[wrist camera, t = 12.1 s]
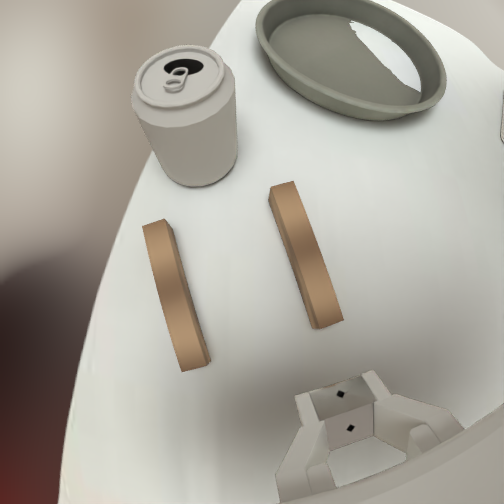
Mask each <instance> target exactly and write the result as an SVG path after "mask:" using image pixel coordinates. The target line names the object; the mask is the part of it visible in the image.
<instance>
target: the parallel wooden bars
mask: <svg viewBox="0 0 504 504" xmlns="http://www.w3.org/2000/svg"><path fill="white" fill-rule="evenodd" d="M268 201H269V204H270V207H271V209H272V212H273V215H274V218H275V220H276V223H277V226H278V229H279V232H280V235H281V237H282V240H283V243H284V246H285V249H286V252H287V255H288V257H289V260H290V263H291V266H292V269H293V272H294V275H295V278H296V281H297V284H298V287H299V290H300V293H301V296H302V299H303V302H304V305H305V308H306V311H307V314H308V317H309V320H310V323H311V326H312V328H313V329H322V328H325V327H327V326H330V325H333V324H335V323H338V322H340V321H343V320H344V319H343V316H342V313H341V310H340V307H339V304H338V301H337V298H336V295H335V292H334V289H333V286H332V283H331V280H330V277H329V274H328V271H327V268H326V266H325V263H324V260H323V257H322V254H321V252H320V249H319V246H318V243H317V241H316V238H315V235H314V233H313V230H312V227H311V225H310V222H309V219H308V217H307V214H306V212H305V209H304V206H303V204H302V201H301V199H300V196H299V194H298V191H297V189H296V186H295V184H294V181H291V182H287V183H283V184H280V185H276V186H272V187H271V188H270V194H269V199H268ZM142 228H143V232H144V237H145V241H146V246H147V250H148V255H149V259H150V263H151V267H152V271H153V275H154V279H155V283H156V287H157V291H158V294H159V298H160V302H161V306H162V309H163V313H164V316H165V320H166V323H167V327H168V330H169V333H170V337H171V340H172V343H173V346H174V350H175V353H176V356H177V359H178V362H179V365H180V368H181V371H182V372H185V371H188V370H192V369H196V368H200V367H203V366H207V365H208V364H209V362H210V361H211V360H210V357H209V353H208V350H207V347H206V344H205V341H204V338H203V335H202V331H201V328H200V325H199V322H198V318H197V315H196V312H195V308H194V305H193V302H192V298H191V295H190V291H189V288H188V284H187V281H186V277H185V274H184V270H183V266H182V263H181V259H180V255H179V251H178V248H177V244H176V240H175V236H174V232H173V229H172V228H171V226H170V225H169V224H168V222H167V221H166V220H165V219H162V220H159V221H156V222H153V223H150V224H147V225H144V226H142Z"/></svg>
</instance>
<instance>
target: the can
mask: <svg viewBox="0 0 504 504" xmlns="http://www.w3.org/2000/svg"><path fill="white" fill-rule="evenodd" d="M131 101H132V107H133V110H134V112H135V114H136V116H137V118H138V120H139V122H140V124H141V126H142V128H143V130H144V133H145V135H146V137H147V139H148V140H149V142H150V145H151V147H152V149H153V151H154V153H155V155H156V157H157V159H158V161H159V162H160V164H161V166H162V168H163V170H164V171H165V173H166V174H167V176H168V177H169V178H171V179H172V180H174V181H175V182H177V183H179V184H182V185H186V186H204V185H207V184H211V183H214V182H216V181H217V180H219V179H220V178H222V177H224V176H225V175H226V174H227V173H228V172H229V170H230V169H231V168H232V167H233V165H234V163H235V160H236V158H237V123H236V99H235V78H234V76H233V73H232V71H231V69H230V68H229V67H228V66H227V65H226V64H225V63H224V62H223V60H222V58H221V57H220V56H219V55H218V54H217V53H216V52H215V51H213V50H211V49H208V48H206V47H203V46H195V45H184V46H183V45H182V46H176V47H172V48H169V49H165V50H163V51H161V52H159V53H157V54H155V55H154V56H152V57H151V58H150V59H148V60H147V61H146V62H145V63H144V64H143V65H142V66H141V68H140V69H139V70H138V72H137V74H136V77H135V80H134V88H133V92H132V95H131Z"/></svg>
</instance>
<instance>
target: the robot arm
mask: <svg viewBox="0 0 504 504" xmlns="http://www.w3.org/2000/svg"><path fill="white" fill-rule="evenodd" d="M501 138H502V140H503V142H504V101H503V117H502V128H501ZM294 397H295V401H296V405H297V409H298V413H299V417H300V421H301V425H302V427H300V428H299V430H298V432H297V434H296V436H295V438H294V440H293V442H292V444H291V446H290V448H289V450H288V452H287V454H286V456H285V458H284V460H283V461H282V463H281V465H280V467H279V469H278V471H277V473H276V474H275V476H276V482H277V487H278V493H279V498H280V503H278V504H504V403H503V404H502V405H501V406H499V407H498V408H496V409H495V410H494V411H492V412H491V413H489V414H488V415H486V416H485V417H483V418H482V419H480V420H479V421H477V422H476V423H474V424H473V425H471V426H470V427H468V428H466V429H464V428H463V427H462V426H461V424H460V423H459V422H458V421H457V420H456V419H455V417H454V416H453V415H452V414H451V413H450V411H449V410H447V409H444V408H440V407H437V406H433V405H430V404H427V403H423V402H420V401H417V400H414V399H410V398H407V397H404V396H401V395H398V394H393V395H391V393H390V392H389V390H388V389H387V388H386V386H385V385H384V384H383V382H382V381H381V379H380V378H379V377H378V375H377V374H376V373H375V371H374V370H370V371H368V372H365V373H363V374H360V375H358V376H355V377H352V378H350V379H347V380H344V381H341V382H338V383H335V384H333V385H329V386H326V387H323V388H319V389H316V390H312V391H309V392H306V393H302V394H298V395H295V396H294ZM371 436H375V437H376V438H378V439H380V440H382V441H384V442H386V443H387V444H389V445H391V446H393V447H395V448H397V449H399V450H401V451H403V452H404V453H406V460H405V462H403V463H401V464H398V465H396V466H394V467H392V468H389V469H387V470H385V471H382V472H380V473H377V474H375V475H372V476H370V477H367V478H364V479H362V480H359V481H356V482H353V483H350V484H347V485H345V486H341V487H338V488H336V485H335V482H334V480H333V477H332V474H331V472H330V469H329V466H328V465H326V463H327V460H328V457H329V454H330V451H332V450H334V449H337V448H340V447H343V446H346V445H348V444H351V443H354V442H357V441H360V440H362V439H365V438H368V437H371Z"/></svg>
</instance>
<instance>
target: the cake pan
mask: <svg viewBox="0 0 504 504" xmlns="http://www.w3.org/2000/svg"><path fill="white" fill-rule="evenodd" d="M351 20H352V21H355V22H359V23H362V24H364V25H366V26H369V27H371V28H373V29H375V30H376V31H378V32H380V33H382V34H383V35H385V36H386V37H388V38H389V39H391V40H392V42H394V43H396V44H397V45H398V46H399V47H400V48H401V49H402V50H403V51H404V52H405V53H406V54H407V55H408V57H409V58H410V59H411V61H412V62H413V64H414V66H415V67H416V69H417V71H418V74H419V77H420V81H421V93H420V92H419V91H417V90H415V89H413V88H411V87H409V86H407V85H405V84H403V83H402V82H401V81H400V80H399V79H397V77H396V76H395V75H394V74H393V73H392V72H391V70H389V69H388V68H387V67H385V66H384V65H383V64H382V63H381V62H380V61H379V59H378V58H377V57H376V56H375V55H374V54H373V53H372V52H371V51H370V50H369V49H368V47H367V46H366V45H365V44H364V43H363V42H362V41H361V40H360V39H359V38H358V37H357V36H356V34H355V33H356V31H354V30H352V28H351V26H350V24H349V23H354V22H350V21H351ZM256 34H257V37H258V40H259V42H260V44H261V46H262V47H263V49H264V50H265V52H266V53H267V54H268V56H269V60H270V62H271V64H272V66H273V68H274V70H275V71H276V73H277V74H278V75H279V76H280V78H281V79H282V80H283V81H284V82H285V83H286V84H287V85H288V86H290V87H291V88H292V89H293V90H295V91H296V92H297V93H299V94H300V95H302V96H303V97H305V98H306V99H308V100H310V101H312V102H313V103H315V104H317V105H319V106H322V107H324V108H326V109H328V110H331V111H333V112H336V113H339V114H342V115H345V116H349V117H353V118H358V119H365V120H377V121H378V120H392V119H397V118H400V117H403V116H405V115H407V114H409V113H413V112H418V111H422V110H425V109H428V108H430V107H432V106H434V105H435V104H436V103H437V102H439V101H440V99H441V98H442V97H443V95H444V93H445V89H446V81H447V80H446V72H445V68H444V65H443V63H442V61H441V59H440V57H439V55H438V53H437V52H436V50H435V49H434V47H433V46H432V45H431V43H430V42H429V41H428V40H427V39H426V37H425V36H424V35H423V34H422V33H421V32H420V31H419V30H417V29H416V28H415V27H414V26H413V25H412V24H410V23H409V22H408V21H407V20H405V19H404V18H402V17H401V16H399V15H398V14H396V13H395V12H393V11H391V10H389V9H387V8H386V7H384V6H382V5H379V4H377V3H375V2H373V1H370V0H272V1H270V2H269V3H267V4H266V5H265V6H264V7H263V8H262V9H261V11H260V12H259V14H258V16H257V19H256Z"/></svg>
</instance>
